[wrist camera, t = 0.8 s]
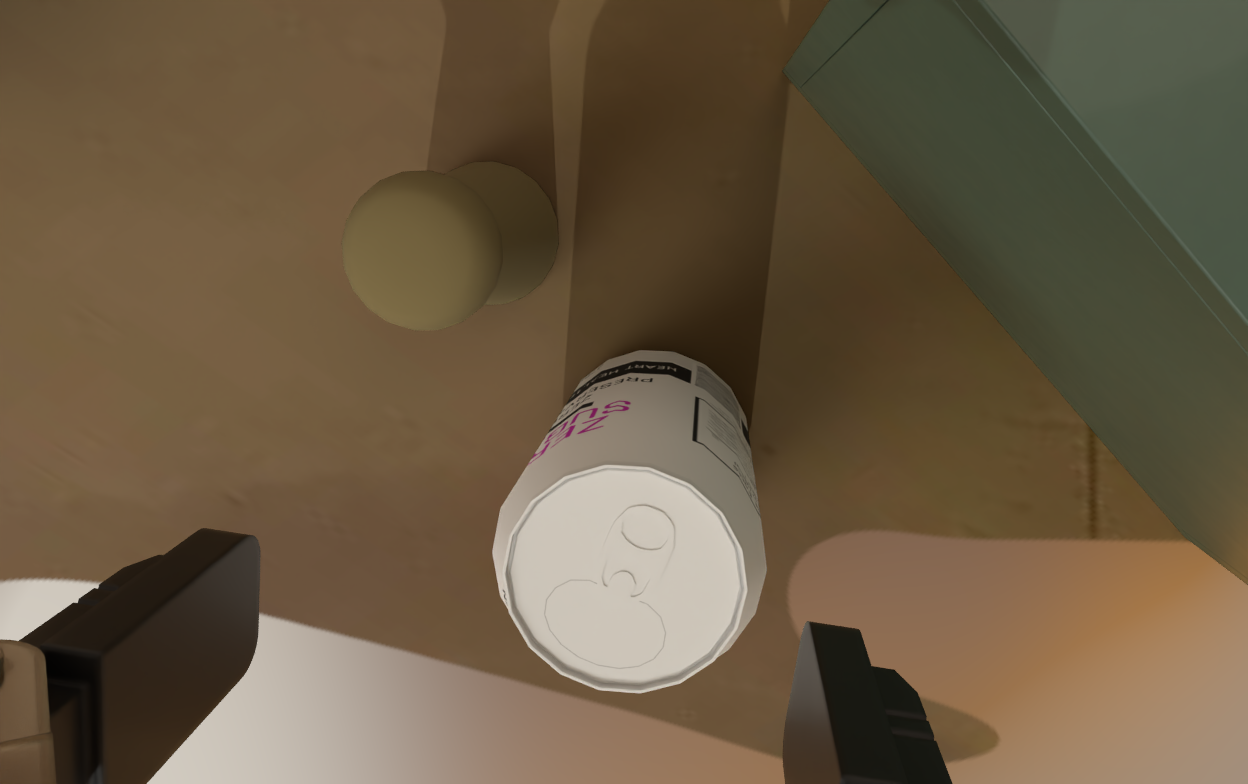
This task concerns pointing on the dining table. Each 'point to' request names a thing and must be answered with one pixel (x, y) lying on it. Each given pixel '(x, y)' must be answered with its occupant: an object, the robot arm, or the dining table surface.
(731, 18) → the dining table surface
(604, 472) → the supplement can
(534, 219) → the pawn
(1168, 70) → the cupboard
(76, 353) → the dining table surface
